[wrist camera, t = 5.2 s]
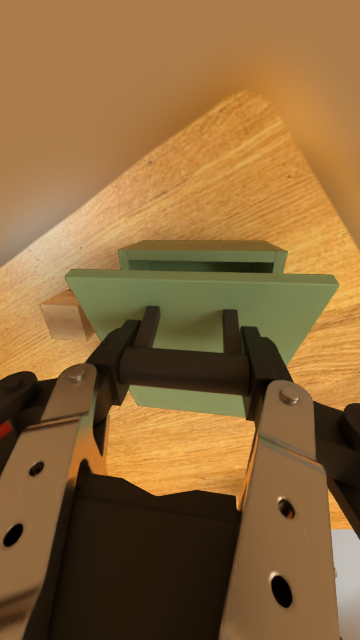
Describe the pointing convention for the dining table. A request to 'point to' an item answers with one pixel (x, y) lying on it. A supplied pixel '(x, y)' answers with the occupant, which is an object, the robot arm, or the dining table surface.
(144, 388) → the lunchbox lid
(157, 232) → the dining table surface
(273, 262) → the box
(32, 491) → the robot arm
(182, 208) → the dining table surface
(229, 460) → the dining table surface
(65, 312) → the wooden block
